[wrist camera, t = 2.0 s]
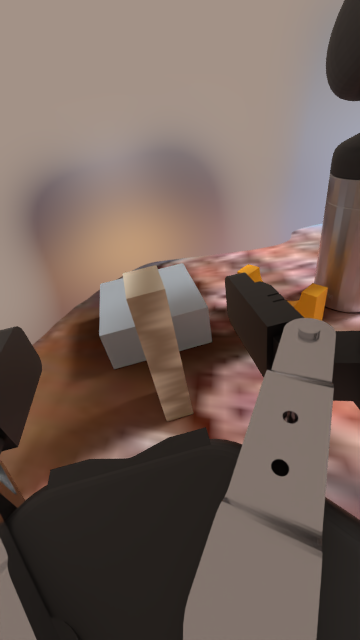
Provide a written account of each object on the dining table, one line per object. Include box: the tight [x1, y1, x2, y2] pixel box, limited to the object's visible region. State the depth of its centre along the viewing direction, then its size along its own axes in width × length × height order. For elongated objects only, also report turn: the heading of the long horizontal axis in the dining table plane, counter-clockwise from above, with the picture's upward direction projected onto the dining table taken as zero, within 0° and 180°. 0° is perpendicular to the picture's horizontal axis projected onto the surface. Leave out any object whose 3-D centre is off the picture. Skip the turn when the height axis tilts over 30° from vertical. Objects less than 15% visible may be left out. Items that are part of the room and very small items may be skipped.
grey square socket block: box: [99, 263, 212, 369], centre depth 42 cm, size 14×14×6 cm
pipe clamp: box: [237, 264, 328, 321], centre depth 39 cm, size 12×4×6 cm, turn 41°
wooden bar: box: [123, 265, 193, 421], centre depth 27 cm, size 3×4×16 cm
